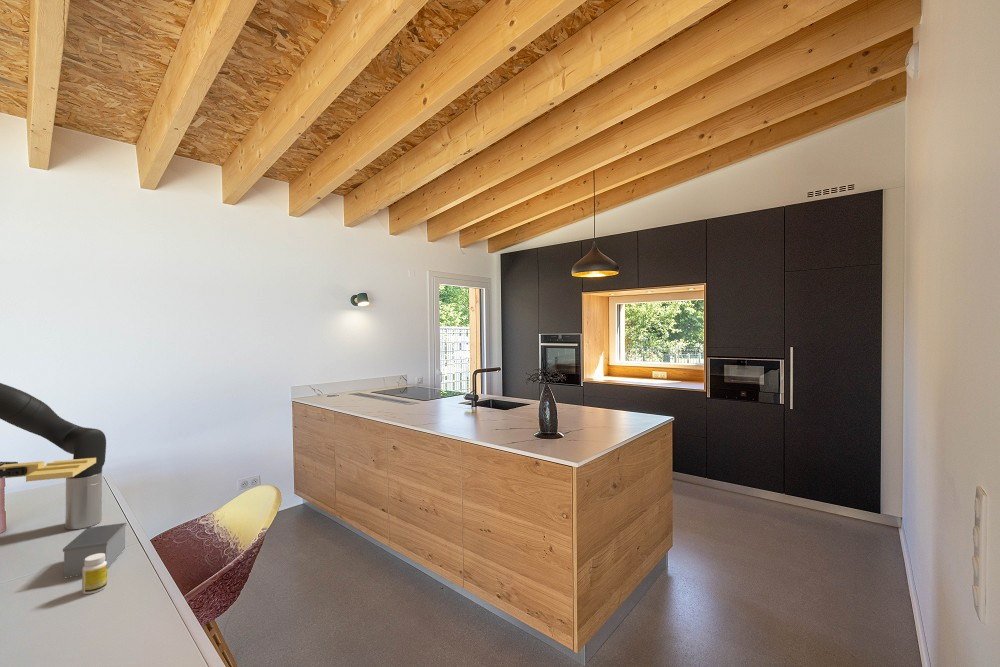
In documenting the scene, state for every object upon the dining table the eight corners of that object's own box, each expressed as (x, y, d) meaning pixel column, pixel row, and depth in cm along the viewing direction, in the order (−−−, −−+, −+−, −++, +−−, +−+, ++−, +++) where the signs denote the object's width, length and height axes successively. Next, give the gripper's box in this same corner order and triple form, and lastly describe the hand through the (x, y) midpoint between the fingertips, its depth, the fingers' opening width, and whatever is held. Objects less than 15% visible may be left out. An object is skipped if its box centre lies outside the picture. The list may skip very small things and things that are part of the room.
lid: (17, 469, 128) (17, 458, 128) (96, 462, 135) (96, 452, 135) (-18, 485, 115) (-18, 473, 115) (72, 477, 122) (72, 466, 122)
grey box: (87, 554, 134) (87, 527, 134) (126, 548, 138) (126, 522, 138) (62, 578, 121) (62, 548, 121) (106, 571, 124) (106, 542, 124)
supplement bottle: (111, 586, 117) (111, 554, 117) (89, 596, 113) (90, 562, 113) (99, 582, 119) (99, 551, 119) (77, 592, 114) (77, 559, 114)
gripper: (-80, 469, 110) (14, 462, 117) (-39, 455, 123) (44, 449, 130) (-80, 500, 110) (14, 490, 117) (-39, 482, 123) (44, 474, 130)
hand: (29, 468), depth 124 cm, fingers closed on lid, 3 cm apart
